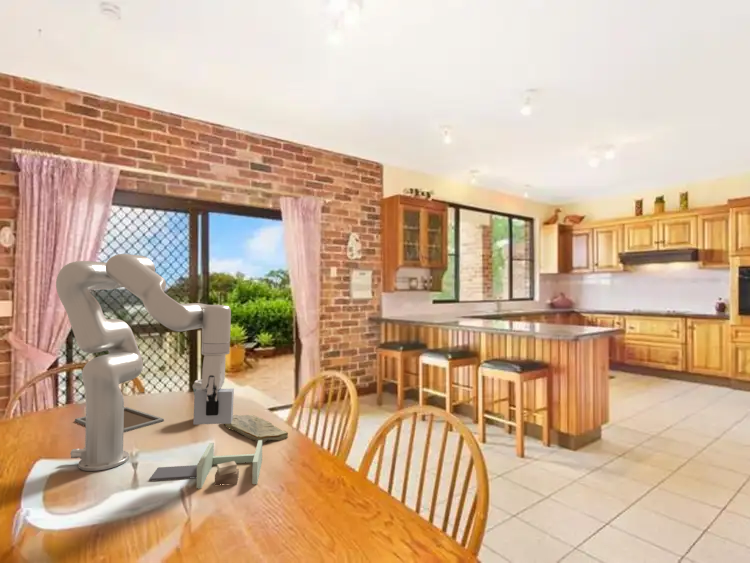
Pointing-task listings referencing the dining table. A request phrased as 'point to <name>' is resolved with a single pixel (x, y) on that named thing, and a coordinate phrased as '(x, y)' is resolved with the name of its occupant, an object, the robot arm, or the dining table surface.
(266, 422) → the stone slab
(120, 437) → the robot arm
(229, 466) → the offcut
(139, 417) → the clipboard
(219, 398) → the tall grey upright block
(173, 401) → the dining table surface
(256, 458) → the rack
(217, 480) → the offcut
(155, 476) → the panel
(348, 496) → the dining table surface
